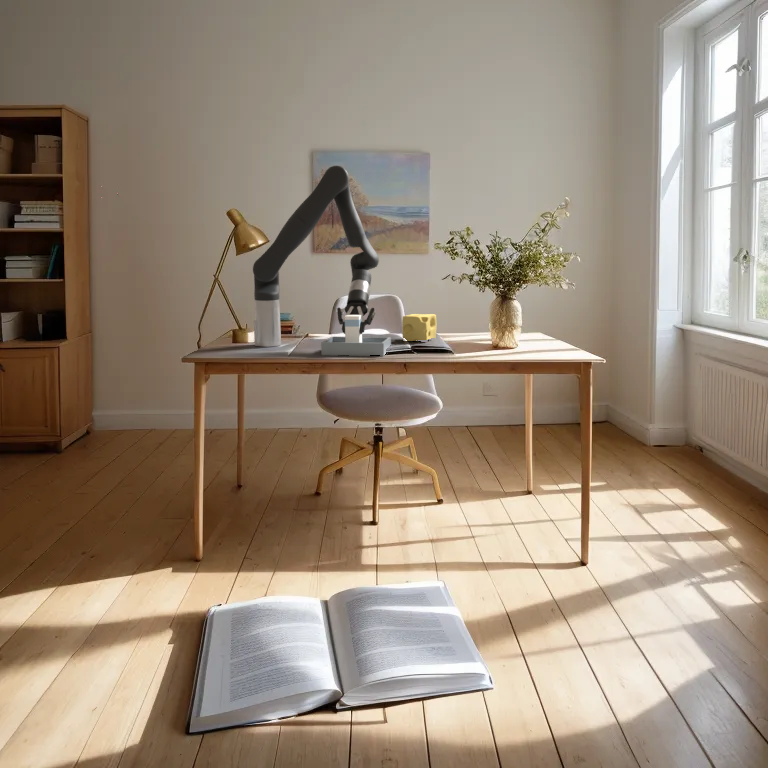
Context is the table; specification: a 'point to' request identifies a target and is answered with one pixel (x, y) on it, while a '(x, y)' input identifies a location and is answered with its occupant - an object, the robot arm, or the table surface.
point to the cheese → (419, 327)
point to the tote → (355, 346)
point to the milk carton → (353, 328)
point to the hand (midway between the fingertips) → (352, 332)
